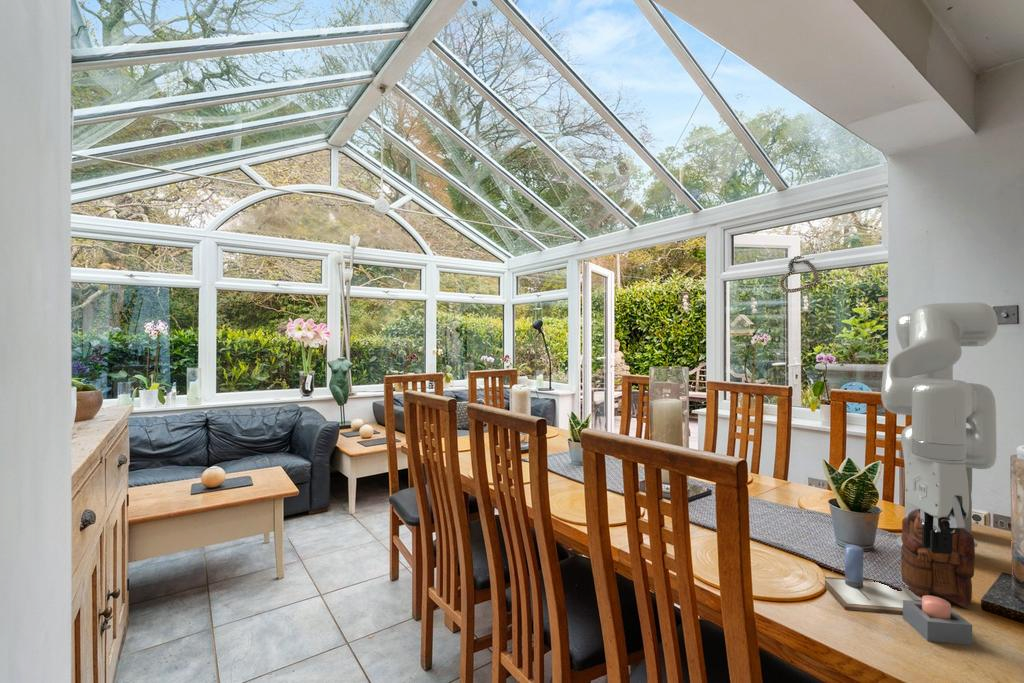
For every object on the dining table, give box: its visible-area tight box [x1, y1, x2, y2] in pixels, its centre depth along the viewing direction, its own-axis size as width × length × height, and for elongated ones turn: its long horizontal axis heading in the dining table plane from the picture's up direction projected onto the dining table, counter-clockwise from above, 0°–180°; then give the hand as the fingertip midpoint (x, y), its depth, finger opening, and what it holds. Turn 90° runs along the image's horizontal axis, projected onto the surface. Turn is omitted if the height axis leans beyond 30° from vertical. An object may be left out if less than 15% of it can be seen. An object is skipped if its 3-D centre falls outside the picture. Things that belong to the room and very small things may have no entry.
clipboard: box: [824, 576, 922, 615], centre depth 101 cm, size 16×12×1 cm
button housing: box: [902, 600, 973, 646], centre depth 90 cm, size 7×7×4 cm
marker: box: [844, 544, 864, 589], centre depth 105 cm, size 3×3×8 cm
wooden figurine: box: [900, 509, 976, 609], centre depth 102 cm, size 12×6×18 cm, turn 44°
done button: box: [921, 595, 952, 620], centre depth 90 cm, size 4×4×4 cm
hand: (936, 549), depth 89 cm, fingers closed
